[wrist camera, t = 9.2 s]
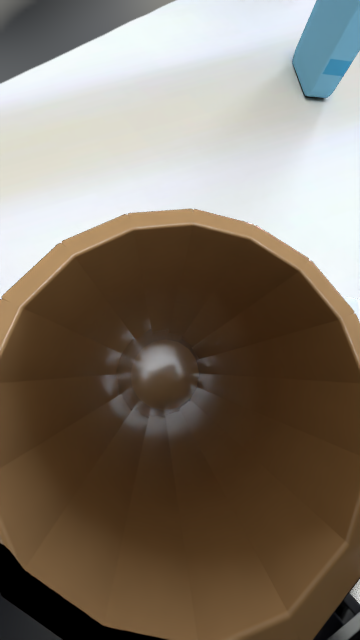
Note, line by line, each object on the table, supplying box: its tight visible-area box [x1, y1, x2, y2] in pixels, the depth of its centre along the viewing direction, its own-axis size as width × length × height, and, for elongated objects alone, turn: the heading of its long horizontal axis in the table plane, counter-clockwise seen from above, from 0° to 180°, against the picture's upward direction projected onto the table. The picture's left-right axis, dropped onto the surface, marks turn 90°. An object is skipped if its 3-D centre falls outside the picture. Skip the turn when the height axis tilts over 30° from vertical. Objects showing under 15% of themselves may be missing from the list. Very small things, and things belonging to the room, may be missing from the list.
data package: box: [293, 0, 360, 98], centre depth 32 cm, size 12×4×12 cm, turn 6°
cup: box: [0, 209, 360, 640], centre depth 9 cm, size 6×6×13 cm
